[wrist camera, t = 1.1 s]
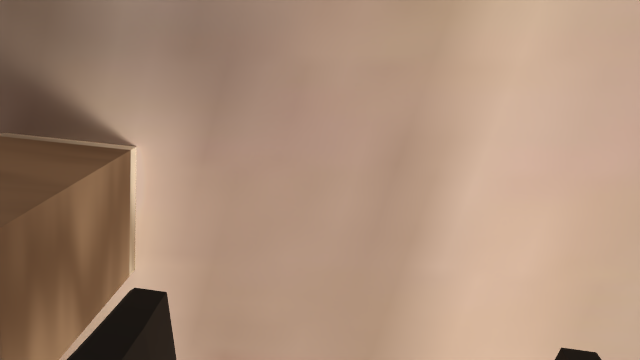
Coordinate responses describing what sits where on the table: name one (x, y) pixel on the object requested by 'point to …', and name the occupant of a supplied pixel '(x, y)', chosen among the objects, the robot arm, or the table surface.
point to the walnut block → (61, 238)
